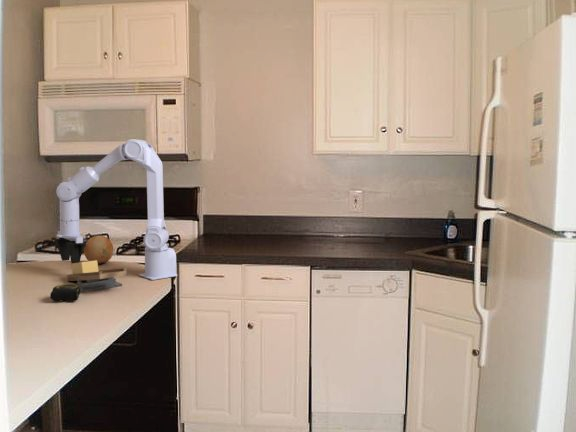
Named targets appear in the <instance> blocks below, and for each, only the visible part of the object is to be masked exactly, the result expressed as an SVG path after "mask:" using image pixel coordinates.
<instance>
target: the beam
mask: <svg viewBox="0 0 576 432" xmlns="http://www.w3.org/2000/svg"><path fill="white" fill-rule="evenodd" d="M127 275H128V274H127V267H123V268H112V269H110V268H109V269H102V270H99V269H98V272H90V273H79V274H73V273H71V274H67V282H75V281H76V282H77V281H80V280H87V282H91V281H98V280H104V279H111V278H115V277H123V276H127Z"/></svg>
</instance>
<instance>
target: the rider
mask: <svg viewBox="0 0 576 432" xmlns="http://www.w3.org/2000/svg"><path fill="white" fill-rule="evenodd" d="M98 271H99V264H98V263H97V260H96V261H88V260H87V261H80V263H71V272H72V273H71V274H79V273H90V272H98Z"/></svg>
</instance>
